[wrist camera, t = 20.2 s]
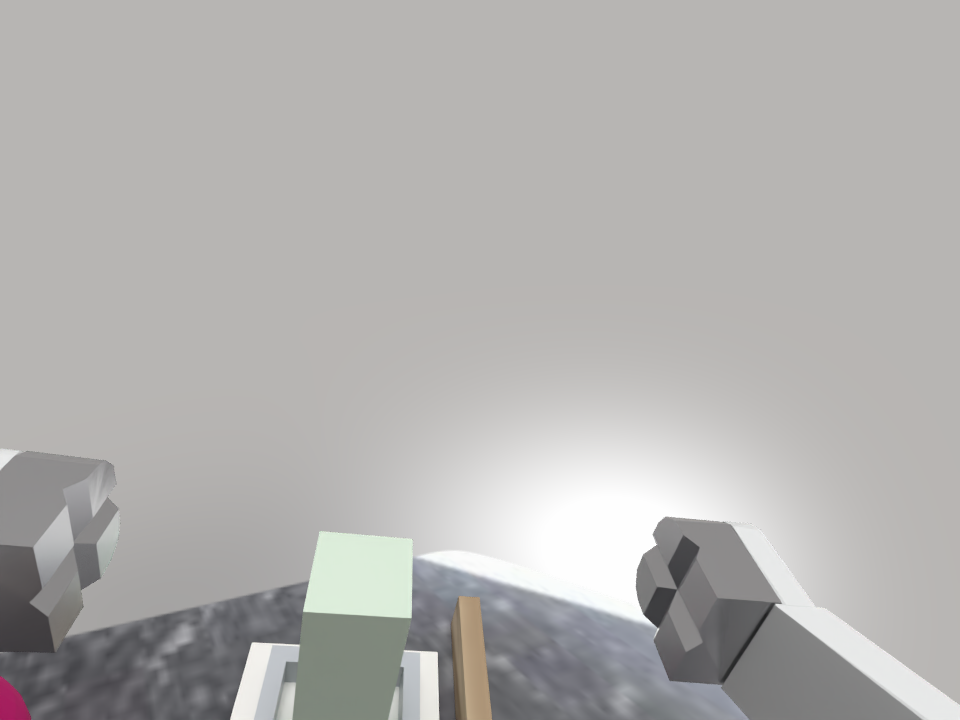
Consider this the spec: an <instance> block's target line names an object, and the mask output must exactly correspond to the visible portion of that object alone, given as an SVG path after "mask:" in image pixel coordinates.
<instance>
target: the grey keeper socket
mask: <svg viewBox="0 0 960 720" xmlns="http://www.w3.org/2000/svg"><path fill="white" fill-rule="evenodd" d="M299 648H300V645H290V644H271V643H252V645H251V648H250V652H249V655H248V659H247V662H246V666H245V669H244V673H243V676H242V680H241V683H240V687H239V690H238V694H237V697H236V701H235V704H234V708H233V711H232V715H231V718H230V720H292V718H293V708H294V698H295V688H296V678H297V668H298V658H299ZM388 720H439V692H438V652H425V651H406V650H404V653H403V657H402V661H401V666H400V670H399V675H398V679H397V683H396V688H395V692H394V696H393V701H392V705H391V709H390V714H389V718H388Z"/></svg>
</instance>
